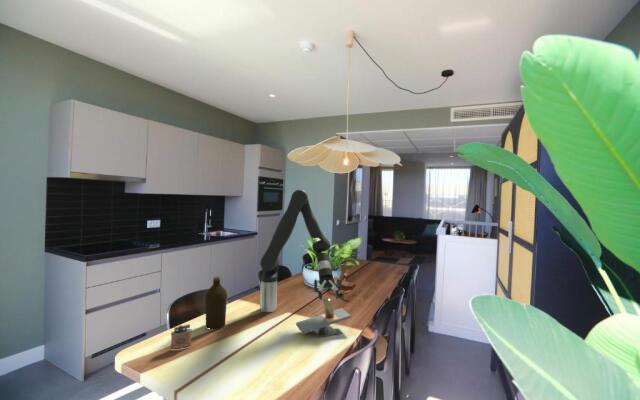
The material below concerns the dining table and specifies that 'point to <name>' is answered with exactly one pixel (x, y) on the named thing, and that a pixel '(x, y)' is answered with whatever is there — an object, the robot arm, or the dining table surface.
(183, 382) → the dining table surface
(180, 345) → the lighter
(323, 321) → the seesaw board
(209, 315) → the olive oil
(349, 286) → the decorative bird
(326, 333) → the pivot stand
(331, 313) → the ball
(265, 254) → the robot arm
